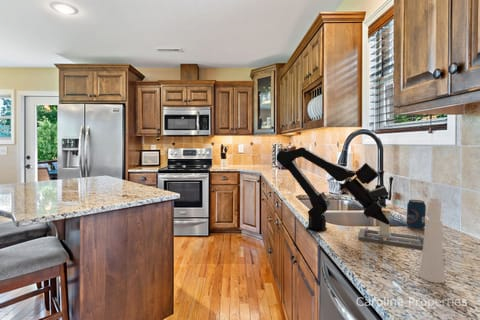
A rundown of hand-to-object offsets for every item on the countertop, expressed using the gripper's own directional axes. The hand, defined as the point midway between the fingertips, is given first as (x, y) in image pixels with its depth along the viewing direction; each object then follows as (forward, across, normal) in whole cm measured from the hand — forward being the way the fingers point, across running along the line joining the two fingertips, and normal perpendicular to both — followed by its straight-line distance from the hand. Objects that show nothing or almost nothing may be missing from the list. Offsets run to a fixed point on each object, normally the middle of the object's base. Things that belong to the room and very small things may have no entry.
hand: (388, 222), depth 105 cm
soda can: (+13, +24, -4) cm, 28 cm away
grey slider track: (+6, 0, +3) cm, 7 cm away
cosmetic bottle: (+11, -30, -2) cm, 32 cm away
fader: (+3, 0, +5) cm, 5 cm away
